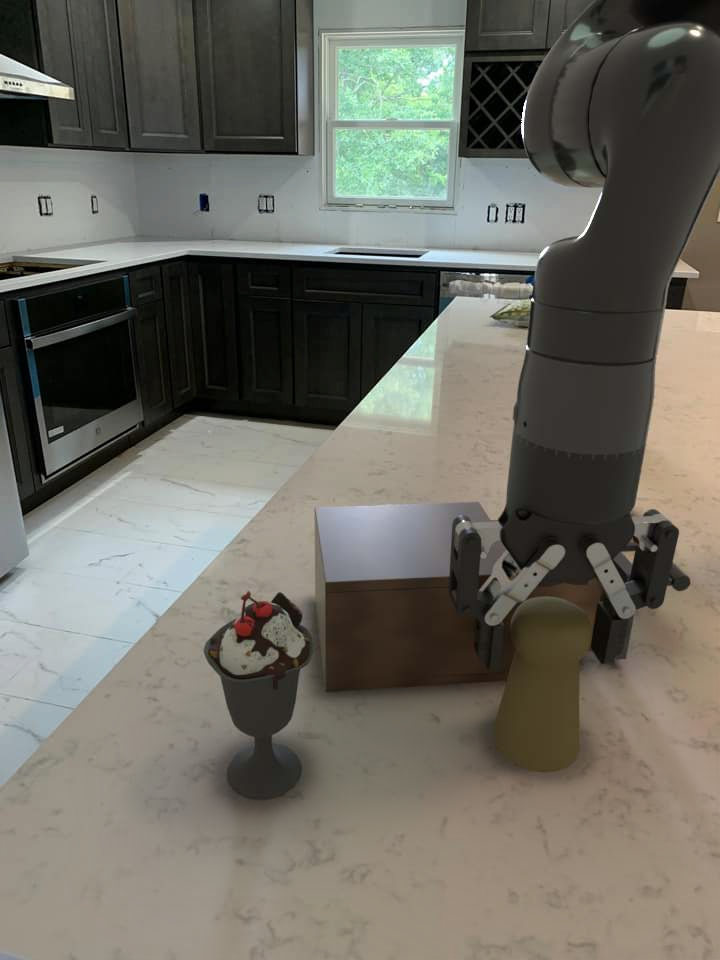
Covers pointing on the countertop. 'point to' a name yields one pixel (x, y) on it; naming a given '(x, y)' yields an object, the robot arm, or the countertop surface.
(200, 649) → the countertop surface
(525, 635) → the cork
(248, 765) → the sundae
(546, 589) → the drawer
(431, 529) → the cabinet
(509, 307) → the frozen beans
